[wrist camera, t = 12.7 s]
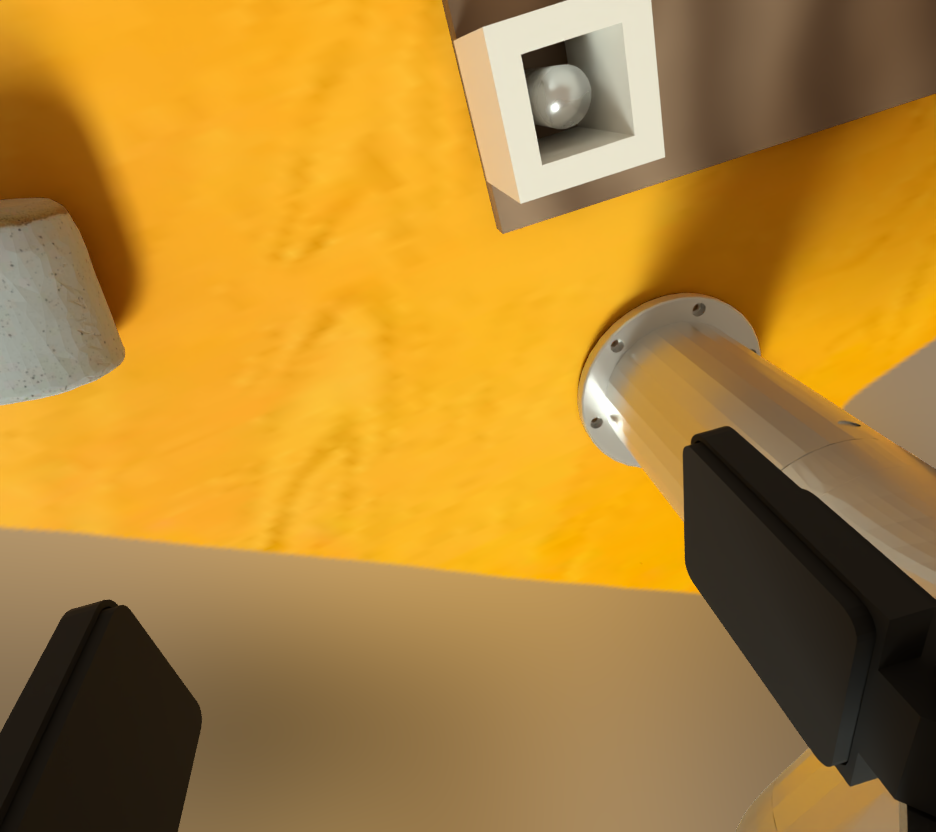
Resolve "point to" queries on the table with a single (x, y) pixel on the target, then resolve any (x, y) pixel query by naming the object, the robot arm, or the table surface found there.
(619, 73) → the cream housing
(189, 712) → the robot arm
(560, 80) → the metal stub
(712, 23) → the walnut board
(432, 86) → the table surface
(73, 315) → the ceramic mug
